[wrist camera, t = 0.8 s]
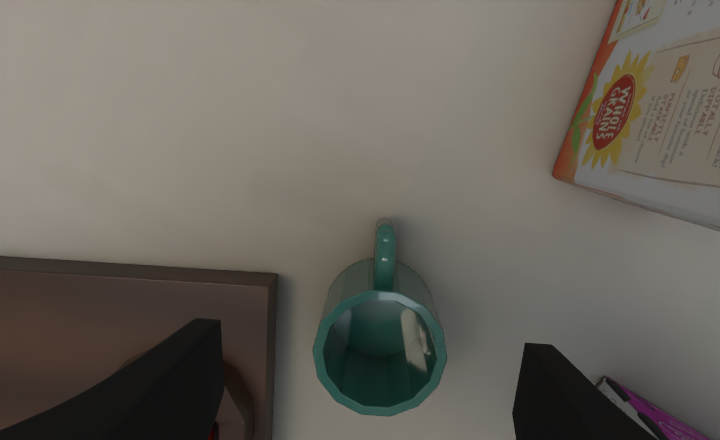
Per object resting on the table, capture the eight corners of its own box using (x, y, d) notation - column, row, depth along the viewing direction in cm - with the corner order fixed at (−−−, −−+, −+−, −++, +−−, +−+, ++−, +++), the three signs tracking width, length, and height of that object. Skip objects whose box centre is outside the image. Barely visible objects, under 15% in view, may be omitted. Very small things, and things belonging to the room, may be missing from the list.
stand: (269, 512, 30) (253, 572, 26) (-70, 489, 30) (-137, 545, 26) (277, 273, 27) (261, 298, 24) (-89, 250, 28) (-165, 271, 24)
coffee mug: (428, 362, 28) (441, 420, 23) (321, 355, 28) (309, 411, 23) (440, 216, 27) (458, 239, 21) (329, 209, 27) (318, 231, 21)
